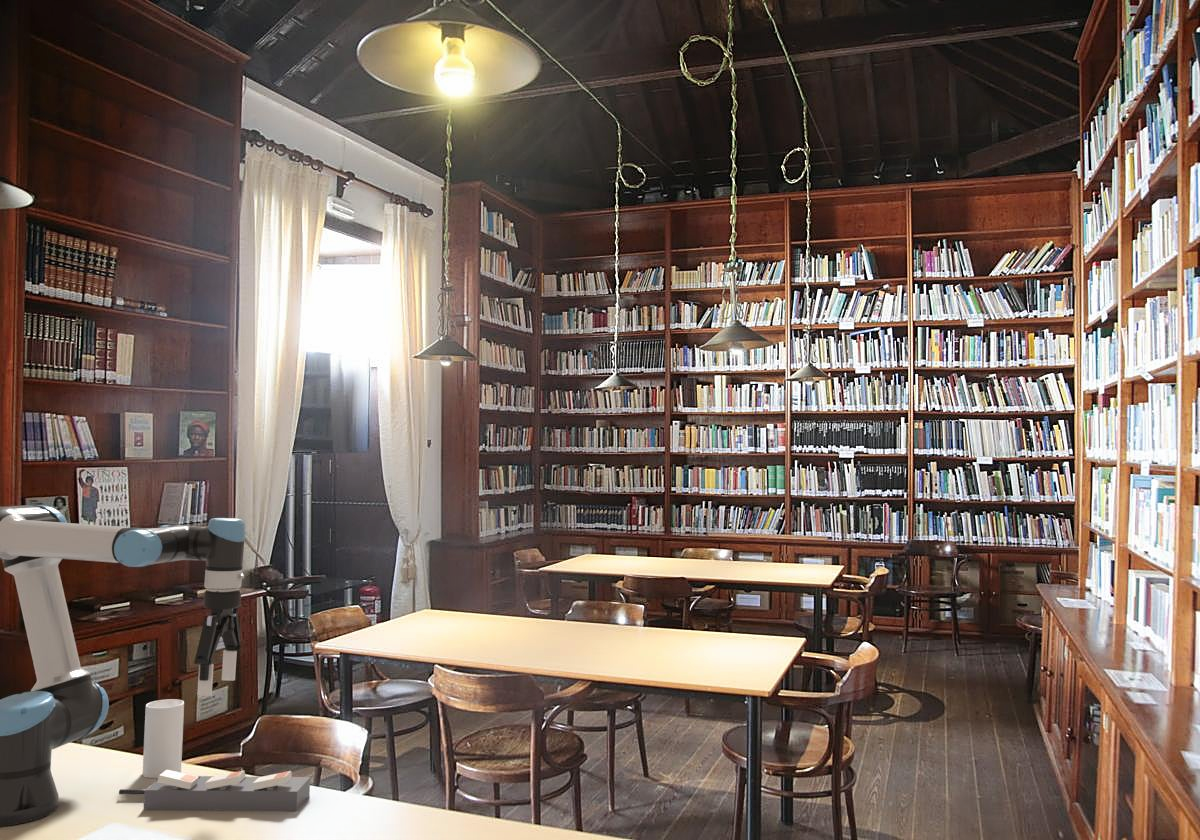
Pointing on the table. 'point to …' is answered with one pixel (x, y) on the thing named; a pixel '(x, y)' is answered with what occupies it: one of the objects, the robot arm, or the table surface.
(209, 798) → the strip
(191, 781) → the block
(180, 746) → the cup
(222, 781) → the block
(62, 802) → the table surface
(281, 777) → the block
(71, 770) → the table surface
